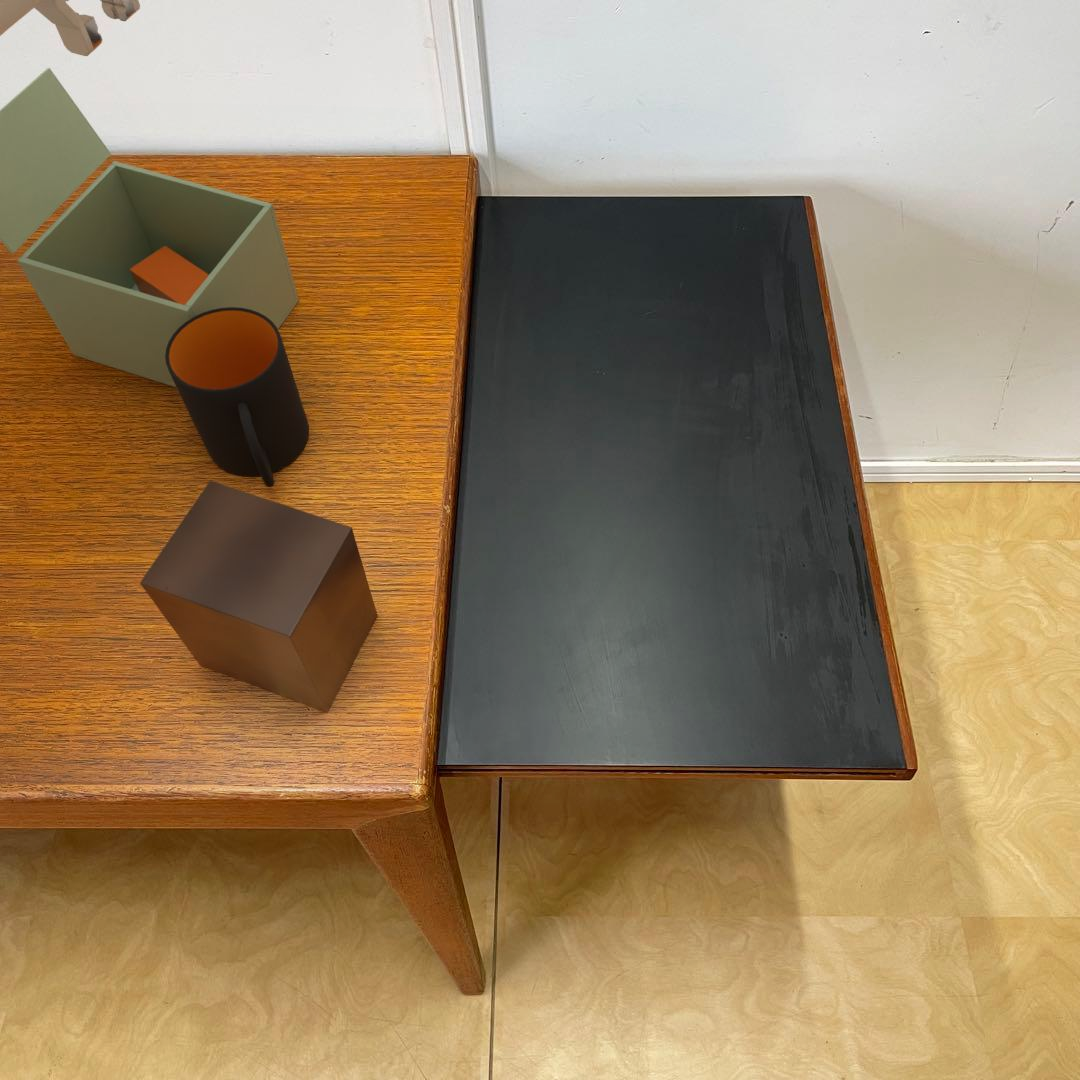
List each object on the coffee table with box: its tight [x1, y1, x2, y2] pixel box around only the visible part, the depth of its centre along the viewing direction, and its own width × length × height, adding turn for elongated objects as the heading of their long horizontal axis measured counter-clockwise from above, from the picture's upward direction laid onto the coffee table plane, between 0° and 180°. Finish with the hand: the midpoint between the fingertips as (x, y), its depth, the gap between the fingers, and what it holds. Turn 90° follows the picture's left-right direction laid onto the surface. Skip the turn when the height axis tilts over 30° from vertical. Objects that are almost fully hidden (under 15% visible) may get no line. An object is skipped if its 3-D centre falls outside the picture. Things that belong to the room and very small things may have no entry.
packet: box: [130, 246, 209, 305], centre depth 81 cm, size 8×4×3 cm, turn 52°
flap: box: [0, 67, 112, 254], centre depth 71 cm, size 7×13×1 cm
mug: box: [165, 307, 310, 488], centre depth 70 cm, size 8×12×10 cm
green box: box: [16, 160, 300, 389], centre depth 77 cm, size 15×13×10 cm
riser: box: [139, 480, 378, 713], centre depth 61 cm, size 10×8×12 cm
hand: (105, 31), depth 58 cm, fingers open, 3 cm apart
